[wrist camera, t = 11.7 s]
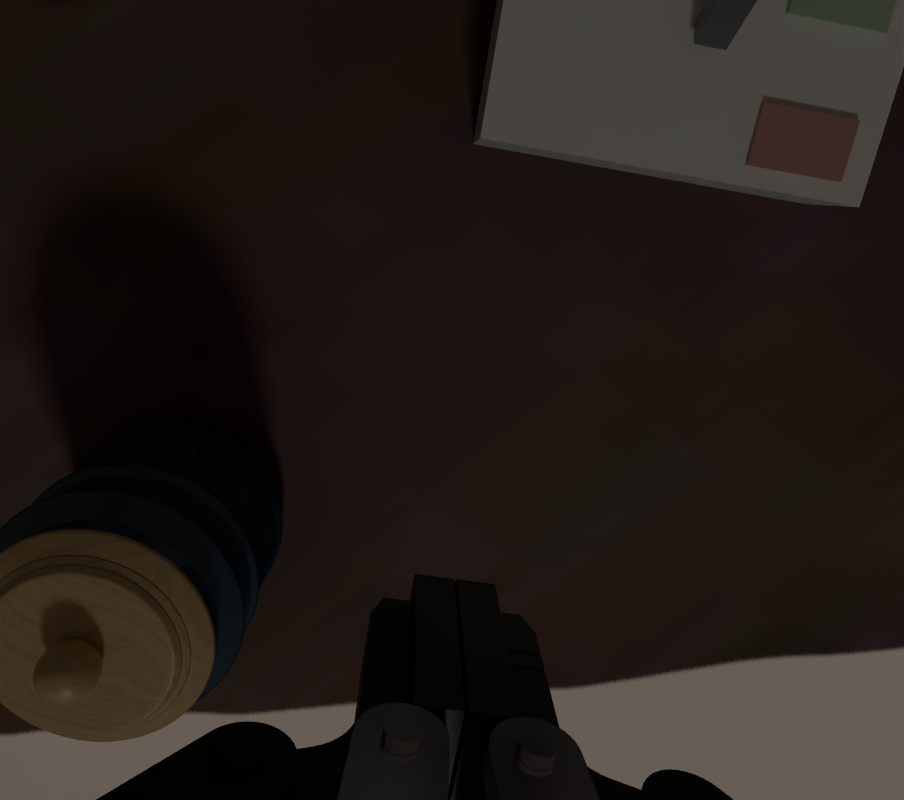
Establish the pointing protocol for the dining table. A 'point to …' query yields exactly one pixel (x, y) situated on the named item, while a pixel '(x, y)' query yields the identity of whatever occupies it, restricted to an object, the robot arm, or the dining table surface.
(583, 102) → the box
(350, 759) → the robot arm
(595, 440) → the dining table surface
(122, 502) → the canister
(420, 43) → the dining table surface
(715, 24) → the breaker lever
